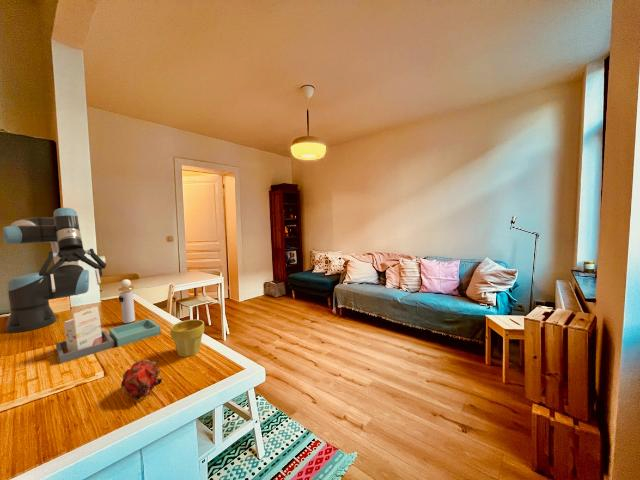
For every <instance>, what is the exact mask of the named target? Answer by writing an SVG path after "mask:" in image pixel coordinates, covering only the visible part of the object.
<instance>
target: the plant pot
mask: <svg viewBox="0 0 640 480" xmlns="http://www.w3.org/2000/svg"><path fill="white" fill-rule="evenodd" d="M204 332H205V322H204V320H201V319H196V318H195V319H187V320H182V321H179V322H176V323H174V324H173V325H171V326H170V337H171V340H173V343H174V345H175V349H176V352H177V355H178V356H179V357H182V358H187V357H191V356H195V355H196V354H198V353H199V352H200V349H201V344H202V338H203V334H204Z"/></svg>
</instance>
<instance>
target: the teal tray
mask: <svg viewBox="0 0 640 480" xmlns="http://www.w3.org/2000/svg"><path fill="white" fill-rule="evenodd" d="M108 332H109V333H108V334H109V335H110V337H111V338H112V339H113V340H114V344H116V346H117V347H118V348H119V347H122V346H125V345H128V344H132V343H135V342H139V341H142V340H144V339H147V338H151V337H154V336H157V335H161V333H162V332H161V325H159V324H157V323H156V322H155V321H154V320H152V319H150V318H146V319H142V320H139V321H135V322H134V321H133V322H129V323H125V324H123V325H119V326H115V327H112V328H109V329H108Z"/></svg>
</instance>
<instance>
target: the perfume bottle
mask: <svg viewBox="0 0 640 480" xmlns="http://www.w3.org/2000/svg"><path fill="white" fill-rule="evenodd" d="M120 286H121V287H118V288H117V289H118V291H119V292H120V293H119V295H118V300H119V303H120V305H121V306H120V307H121V315H122V323H123V324H130V323H134V321H135V322H136V314H135V312H136V311H135V301H134V299H135V298H134V291H133V290H134V289H135V286H133V285H132V282H131V280H130V279H126V278H125V279H122V280H121V282H120ZM121 291H122V292H121Z"/></svg>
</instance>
